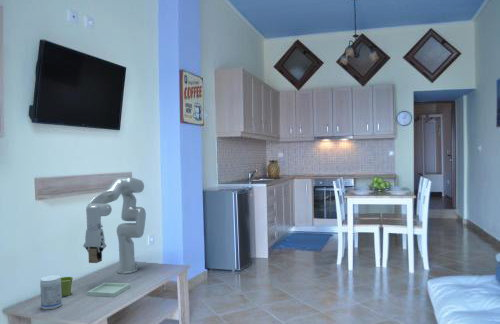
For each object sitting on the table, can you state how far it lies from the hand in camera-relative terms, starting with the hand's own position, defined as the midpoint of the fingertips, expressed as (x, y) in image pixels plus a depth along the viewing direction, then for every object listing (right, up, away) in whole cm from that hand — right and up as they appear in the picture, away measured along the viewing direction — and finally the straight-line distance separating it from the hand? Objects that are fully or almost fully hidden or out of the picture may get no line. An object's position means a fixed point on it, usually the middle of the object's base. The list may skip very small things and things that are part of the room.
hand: (95, 258), depth 235 cm
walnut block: (0, -2, 0) cm, 2 cm away
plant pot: (-14, -18, -9) cm, 24 cm away
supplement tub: (-12, -18, -27) cm, 35 cm away
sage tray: (+10, -17, -5) cm, 20 cm away
